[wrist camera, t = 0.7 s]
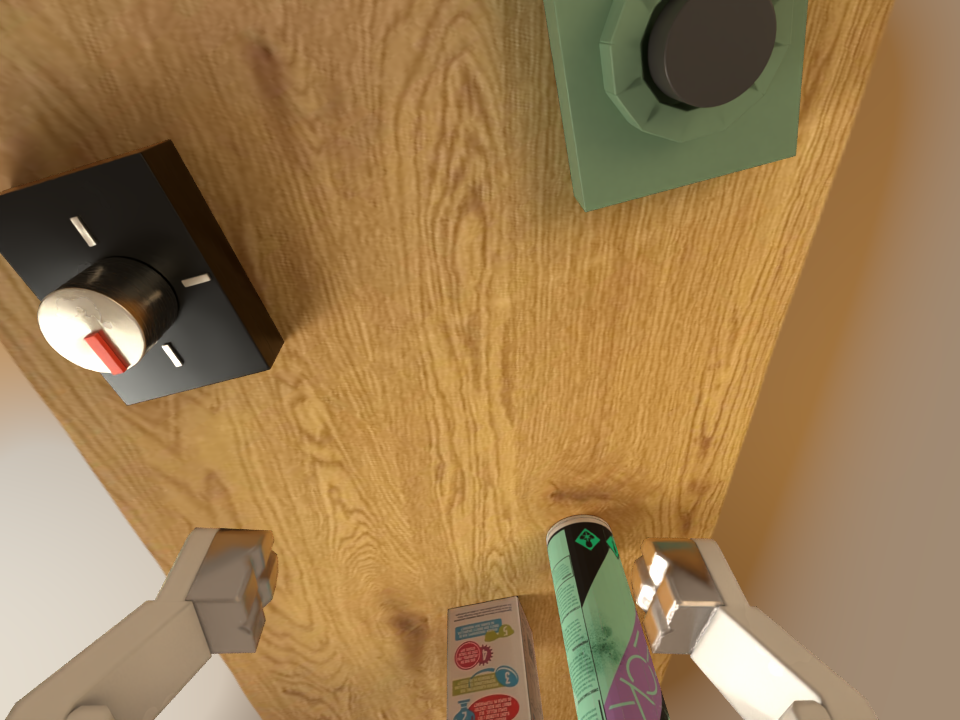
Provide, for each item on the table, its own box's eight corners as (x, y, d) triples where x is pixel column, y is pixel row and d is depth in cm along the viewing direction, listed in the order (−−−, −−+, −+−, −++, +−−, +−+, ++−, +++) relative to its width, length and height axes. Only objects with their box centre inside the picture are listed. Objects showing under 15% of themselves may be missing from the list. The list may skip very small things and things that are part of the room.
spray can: (591, 562, 45) (673, 881, 28) (534, 549, 44) (586, 876, 27) (623, 522, 42) (735, 850, 26) (564, 508, 41) (641, 843, 24)
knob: (63, 269, 25) (7, 306, 22) (144, 246, 25) (100, 280, 22) (120, 343, 28) (77, 386, 24) (195, 323, 27) (161, 364, 24)
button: (642, -1, 19) (660, -3, 18) (751, -35, 19) (781, -40, 17) (650, 112, 21) (667, 121, 20) (748, 84, 21) (774, 91, 19)
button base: (528, -92, 21) (545, -116, 17) (782, -177, 20) (859, -222, 16) (574, 196, 27) (593, 225, 24) (766, 144, 26) (819, 165, 23)
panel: (8, 188, 26) (-42, 208, 23) (171, 138, 25) (138, 153, 22) (151, 376, 32) (125, 408, 30) (284, 342, 32) (269, 371, 29)
